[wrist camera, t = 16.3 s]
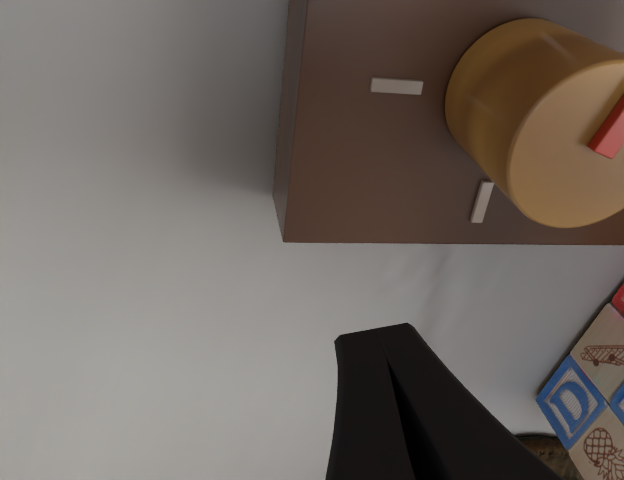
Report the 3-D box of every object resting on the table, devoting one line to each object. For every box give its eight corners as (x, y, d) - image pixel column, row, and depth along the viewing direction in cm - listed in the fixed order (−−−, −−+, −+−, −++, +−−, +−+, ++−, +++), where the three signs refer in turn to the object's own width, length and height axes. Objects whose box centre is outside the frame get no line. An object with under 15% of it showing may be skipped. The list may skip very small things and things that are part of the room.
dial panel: (272, 196, 20) (283, 245, 18) (302, -151, 15) (323, -154, 12) (583, 203, 23) (633, 248, 20) (701, -95, 17) (791, -87, 15)
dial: (527, 176, 18) (610, 255, 14) (417, 132, 16) (478, 206, 13) (611, 52, 16) (728, 107, 13) (496, -9, 15) (592, 32, 11)
